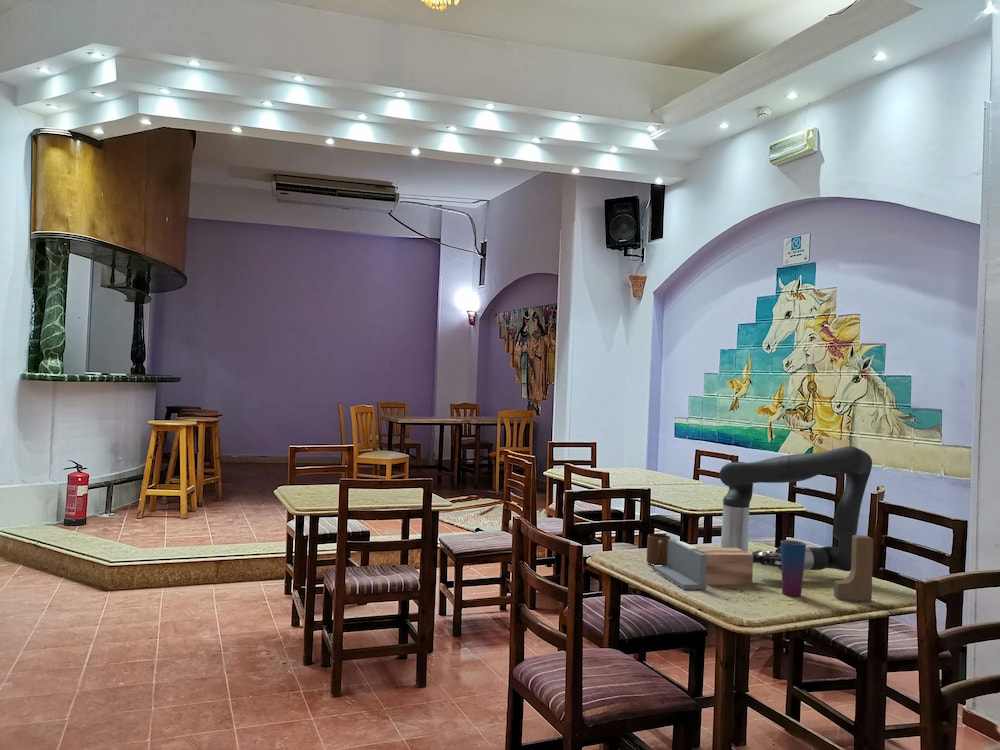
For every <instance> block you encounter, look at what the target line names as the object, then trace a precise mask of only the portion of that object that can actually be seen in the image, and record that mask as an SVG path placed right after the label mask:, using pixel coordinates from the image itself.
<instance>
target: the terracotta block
mask: <svg viewBox="0 0 1000 750" xmlns="http://www.w3.org/2000/svg"><path fill="white" fill-rule="evenodd" d="M694 547H695V546H694ZM695 548H697V551H699V552H701V553H704V554H706V555H707V566H706V585H753V575H754V574H753V569H754V563H753V554H752V553H750V552H749V551H748V552H746V551H743V550H741V549H739V548H721V547H712V546H711V547H707V546H706V547H704V546H703V547H700V546H699V547H697V546H696V547H695Z"/></svg>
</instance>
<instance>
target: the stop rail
mask: <svg viewBox="0 0 1000 750" xmlns="http://www.w3.org/2000/svg"><path fill="white" fill-rule="evenodd" d="M706 566H707V555H706V554H704V553H701V552H699V551H697V548H695V546H693V545H692V544H689V543H687V542H684V541H679V540H676V539H674V538H672V539H671V538H670V539H668V551H667V566H653V565H651V570H652V569H653V570H654V571H656V572H658V573H659V574H661V575H662V576H664V577H665V578H667V579H669V580H670V581H672V582H673V583H675V584H676V585H678V586H680V587H681V588H682V589H681V588H680V589H681V590H683V589H706V588H707V584H706ZM654 571H653V572H654ZM659 574H658V575H659ZM662 576H661V577H662ZM665 578H664V579H665ZM667 579H666V580H667ZM670 581H669V582H670ZM673 583H672V584H673ZM675 584H674V585H675ZM676 585H675V586H676ZM678 586H677V587H678Z"/></svg>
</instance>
